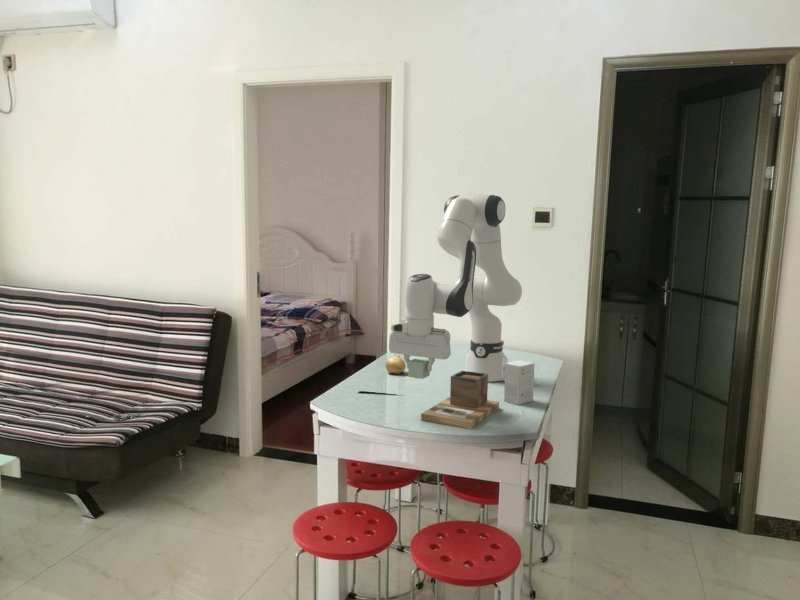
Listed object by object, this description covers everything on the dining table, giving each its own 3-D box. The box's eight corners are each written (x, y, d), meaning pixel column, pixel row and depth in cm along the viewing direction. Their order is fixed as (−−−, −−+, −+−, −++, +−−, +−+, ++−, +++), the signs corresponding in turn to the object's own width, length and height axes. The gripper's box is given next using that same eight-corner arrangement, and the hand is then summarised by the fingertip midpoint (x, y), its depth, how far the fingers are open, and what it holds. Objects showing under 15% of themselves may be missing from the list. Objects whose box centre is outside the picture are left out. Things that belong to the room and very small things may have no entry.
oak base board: (452, 400, 211) (453, 368, 210) (499, 408, 204) (500, 374, 203) (421, 420, 190) (421, 384, 189) (471, 428, 183) (472, 391, 182)
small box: (518, 397, 217) (519, 359, 216) (533, 401, 213) (535, 362, 211) (503, 401, 212) (504, 362, 210) (519, 405, 207) (520, 366, 206)
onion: (408, 374, 247) (408, 356, 246) (389, 376, 245) (389, 357, 244) (401, 370, 255) (401, 352, 254) (382, 371, 252) (382, 353, 251)
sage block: (415, 373, 204) (415, 358, 204) (429, 375, 202) (429, 359, 201) (408, 376, 200) (408, 361, 199) (422, 378, 198) (422, 363, 197)
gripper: (454, 328, 197) (453, 371, 199) (395, 322, 206) (395, 364, 208) (446, 331, 191) (445, 376, 193) (386, 325, 201) (386, 368, 203)
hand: (419, 369), depth 201 cm, fingers closed on sage block, 5 cm apart
